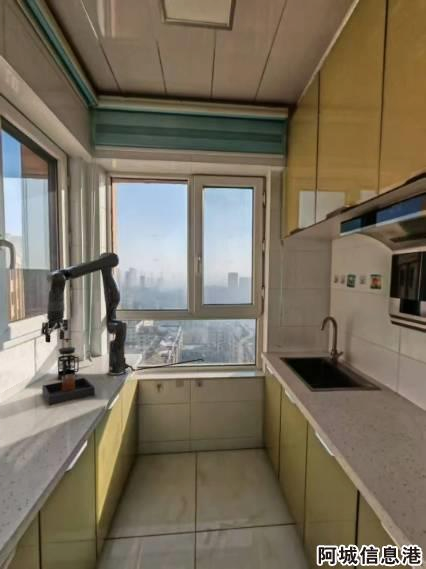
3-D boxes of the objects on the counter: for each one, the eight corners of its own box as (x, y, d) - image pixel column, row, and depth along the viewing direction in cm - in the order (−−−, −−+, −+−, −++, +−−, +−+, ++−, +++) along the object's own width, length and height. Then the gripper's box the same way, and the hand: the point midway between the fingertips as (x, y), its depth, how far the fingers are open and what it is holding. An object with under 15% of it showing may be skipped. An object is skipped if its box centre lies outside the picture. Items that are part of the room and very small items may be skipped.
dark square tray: (84, 386, 155) (84, 377, 155) (94, 396, 142) (94, 386, 142) (42, 395, 142) (42, 385, 142) (48, 407, 129) (48, 396, 129)
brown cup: (73, 390, 146) (73, 373, 146) (76, 394, 141) (76, 376, 141) (60, 393, 142) (60, 375, 142) (63, 397, 138) (63, 379, 137)
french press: (53, 380, 162) (54, 340, 162) (59, 375, 171) (59, 337, 171) (76, 379, 165) (76, 340, 164) (80, 374, 174) (80, 336, 173)
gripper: (49, 311, 140) (49, 344, 140) (72, 308, 153) (71, 338, 154) (38, 310, 142) (37, 342, 142) (61, 308, 156) (60, 337, 156)
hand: (55, 340), depth 148 cm, fingers open, 8 cm apart
